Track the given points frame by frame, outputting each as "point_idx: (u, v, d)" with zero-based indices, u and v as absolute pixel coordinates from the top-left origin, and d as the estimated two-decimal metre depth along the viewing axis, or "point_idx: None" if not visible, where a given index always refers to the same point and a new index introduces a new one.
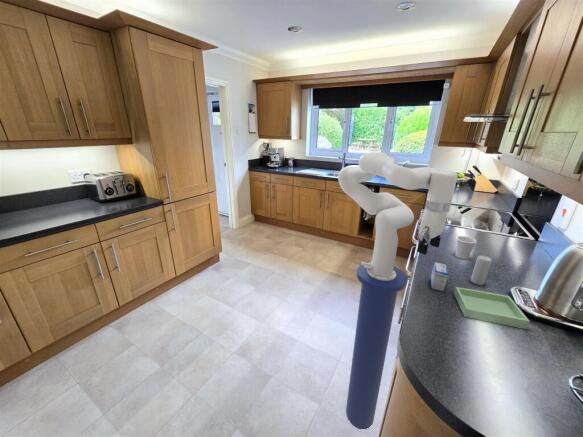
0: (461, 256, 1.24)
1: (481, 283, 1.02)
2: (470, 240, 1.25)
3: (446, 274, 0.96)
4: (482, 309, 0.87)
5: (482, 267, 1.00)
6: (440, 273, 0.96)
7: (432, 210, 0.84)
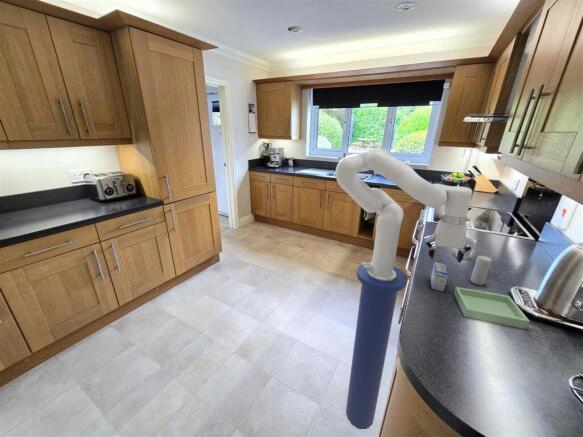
0: None
1: (481, 283, 1.02)
2: None
3: (446, 274, 0.96)
4: (482, 309, 0.87)
5: (482, 267, 1.00)
6: (440, 273, 0.96)
7: (442, 220, 0.94)
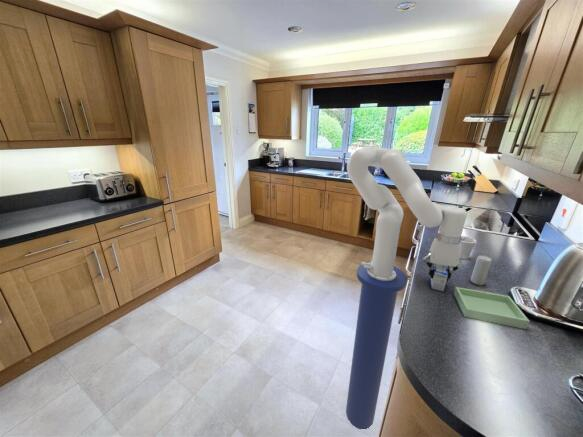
0: (461, 256, 1.24)
1: (481, 283, 1.02)
2: (470, 240, 1.25)
3: (446, 274, 0.96)
4: (482, 309, 0.87)
5: (482, 266, 1.00)
6: (440, 273, 0.96)
7: (437, 239, 0.96)
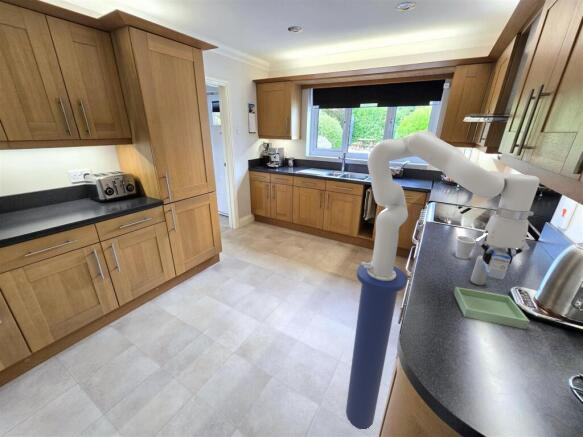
0: (461, 256, 1.24)
1: (481, 283, 1.02)
2: (470, 240, 1.25)
3: (508, 258, 0.78)
4: (482, 309, 0.87)
5: (482, 267, 1.00)
6: (500, 257, 0.79)
7: (497, 215, 0.79)
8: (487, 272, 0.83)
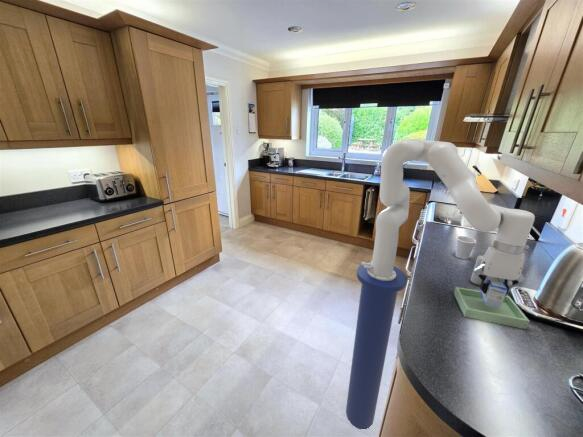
0: (461, 256, 1.24)
1: None
2: (470, 240, 1.25)
3: (505, 289, 0.80)
4: (482, 309, 0.87)
5: None
6: (497, 288, 0.81)
7: (493, 247, 0.81)
8: (484, 301, 0.85)
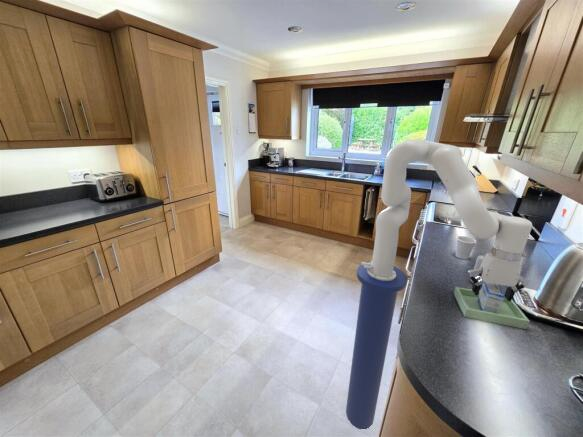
0: (461, 256, 1.24)
1: None
2: (470, 240, 1.25)
3: (502, 297, 0.81)
4: None
5: None
6: (494, 295, 0.82)
7: (491, 254, 0.82)
8: (482, 308, 0.86)
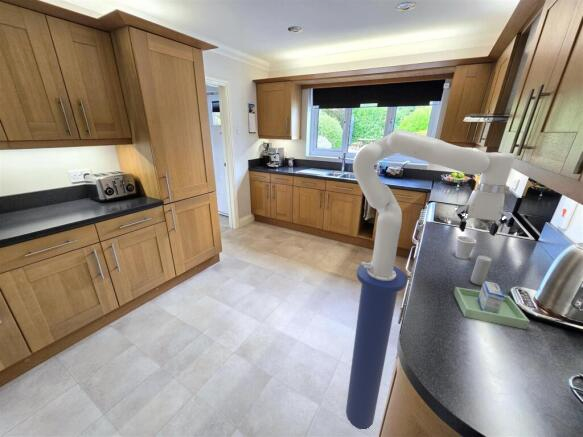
0: (461, 256, 1.24)
1: (481, 283, 1.02)
2: (470, 240, 1.25)
3: (502, 297, 0.81)
4: None
5: (482, 267, 1.00)
6: (494, 295, 0.82)
7: (477, 189, 0.88)
8: (482, 308, 0.86)
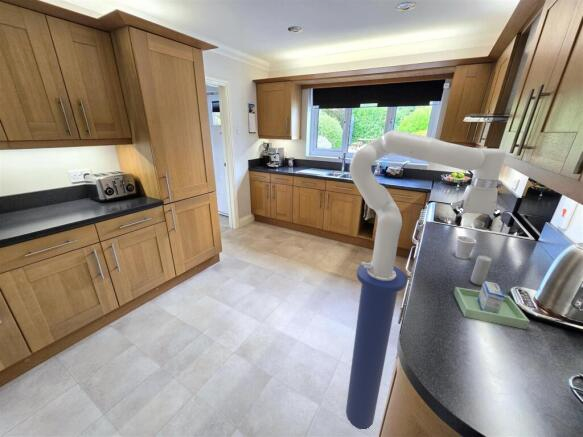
0: (461, 256, 1.24)
1: (481, 283, 1.02)
2: (470, 240, 1.25)
3: (502, 297, 0.81)
4: None
5: (482, 266, 1.00)
6: (494, 295, 0.82)
7: (471, 185, 0.90)
8: (482, 308, 0.86)
